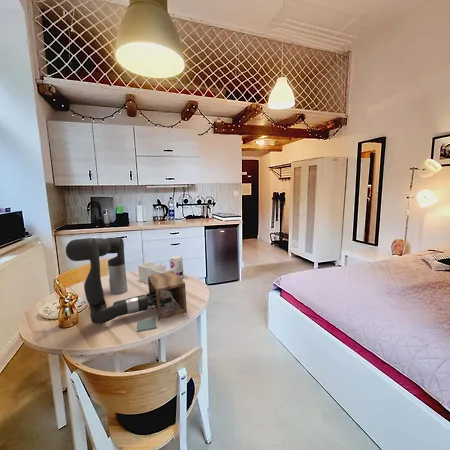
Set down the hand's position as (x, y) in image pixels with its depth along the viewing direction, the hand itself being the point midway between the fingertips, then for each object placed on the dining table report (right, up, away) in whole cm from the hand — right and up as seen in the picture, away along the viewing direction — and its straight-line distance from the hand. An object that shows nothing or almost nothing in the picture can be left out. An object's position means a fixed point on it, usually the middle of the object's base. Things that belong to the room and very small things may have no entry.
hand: (169, 296), depth 132 cm
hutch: (-2, -6, 0) cm, 6 cm away
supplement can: (-3, +1, +41) cm, 41 cm away
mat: (-7, -9, -15) cm, 19 cm away
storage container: (-15, -1, +35) cm, 39 cm away
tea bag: (-1, -6, 0) cm, 7 cm away
